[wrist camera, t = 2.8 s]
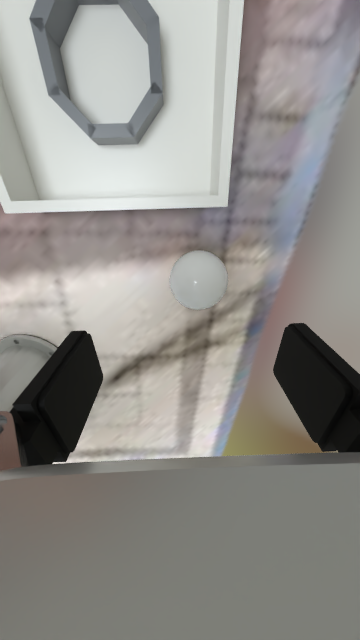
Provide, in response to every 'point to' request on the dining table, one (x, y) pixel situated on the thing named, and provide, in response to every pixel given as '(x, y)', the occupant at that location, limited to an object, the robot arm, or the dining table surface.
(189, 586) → the robot arm
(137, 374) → the dining table surface
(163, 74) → the socket box
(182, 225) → the dining table surface
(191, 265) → the lightbulb
